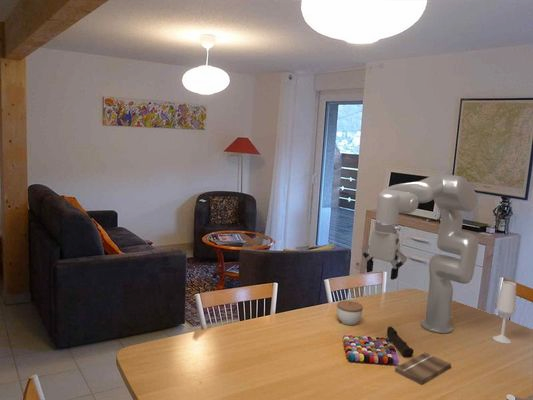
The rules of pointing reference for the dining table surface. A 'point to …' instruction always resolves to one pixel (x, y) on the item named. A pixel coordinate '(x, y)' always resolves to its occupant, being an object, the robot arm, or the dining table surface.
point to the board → (422, 368)
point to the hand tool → (399, 343)
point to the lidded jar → (349, 312)
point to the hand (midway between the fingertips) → (381, 275)
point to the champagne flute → (506, 307)
